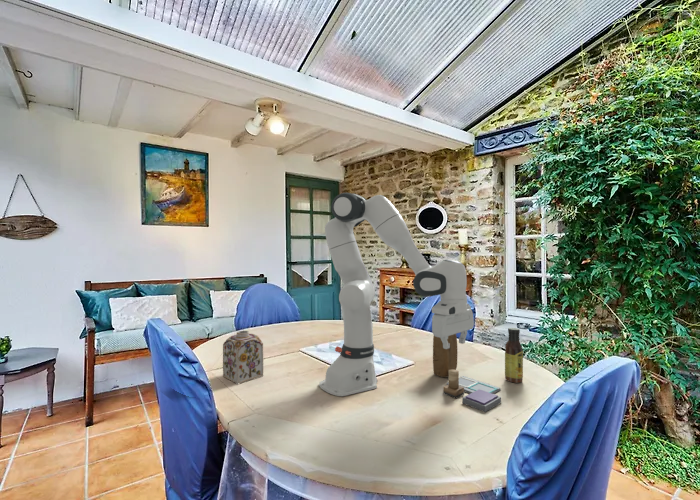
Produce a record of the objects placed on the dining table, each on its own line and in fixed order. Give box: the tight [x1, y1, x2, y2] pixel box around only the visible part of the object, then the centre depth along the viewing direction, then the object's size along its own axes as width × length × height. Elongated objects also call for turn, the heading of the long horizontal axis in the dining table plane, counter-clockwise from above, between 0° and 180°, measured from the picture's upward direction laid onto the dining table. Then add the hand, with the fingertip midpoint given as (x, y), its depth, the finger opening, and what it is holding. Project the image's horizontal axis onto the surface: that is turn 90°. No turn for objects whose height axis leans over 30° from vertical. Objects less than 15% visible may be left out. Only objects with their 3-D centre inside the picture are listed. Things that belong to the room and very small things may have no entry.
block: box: [432, 334, 458, 378], centre depth 139 cm, size 11×8×20 cm
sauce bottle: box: [504, 327, 524, 384], centre depth 132 cm, size 6×6×20 cm
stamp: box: [442, 369, 465, 399], centre depth 121 cm, size 5×5×8 cm
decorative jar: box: [222, 330, 264, 385], centre depth 137 cm, size 12×12×18 cm
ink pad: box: [462, 389, 502, 413], centre depth 114 cm, size 10×8×2 cm
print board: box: [446, 375, 501, 394], centre depth 126 cm, size 11×15×1 cm
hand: (454, 345), depth 120 cm, fingers open, 8 cm apart
